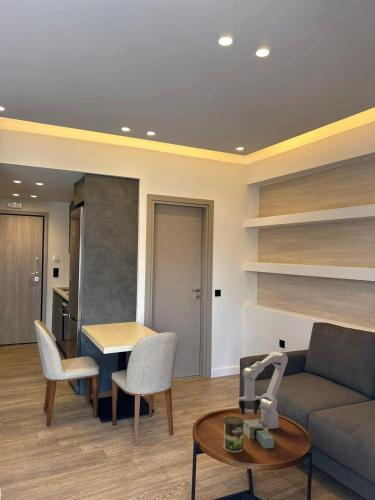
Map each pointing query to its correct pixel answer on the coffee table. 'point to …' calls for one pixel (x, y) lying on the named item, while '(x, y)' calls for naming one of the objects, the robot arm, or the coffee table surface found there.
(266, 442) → the end cover
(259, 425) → the housing
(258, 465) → the coffee table surface
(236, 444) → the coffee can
